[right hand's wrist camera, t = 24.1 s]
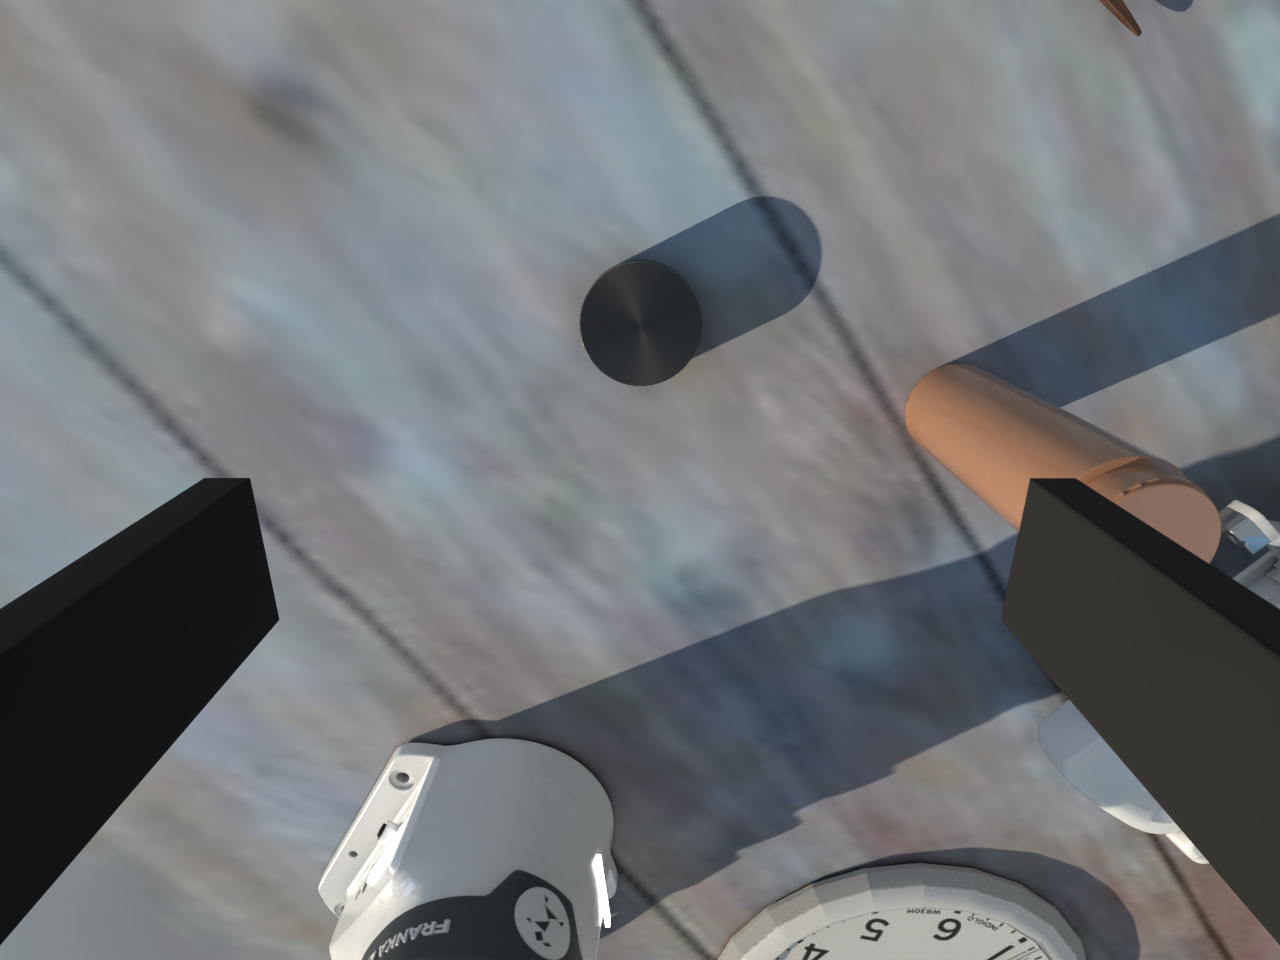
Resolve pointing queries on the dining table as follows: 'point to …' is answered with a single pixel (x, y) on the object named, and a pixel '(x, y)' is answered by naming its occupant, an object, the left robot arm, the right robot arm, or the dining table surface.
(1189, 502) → the tan rounded cylinder
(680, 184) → the dining table surface
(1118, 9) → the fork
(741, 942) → the wall clock
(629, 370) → the lid
